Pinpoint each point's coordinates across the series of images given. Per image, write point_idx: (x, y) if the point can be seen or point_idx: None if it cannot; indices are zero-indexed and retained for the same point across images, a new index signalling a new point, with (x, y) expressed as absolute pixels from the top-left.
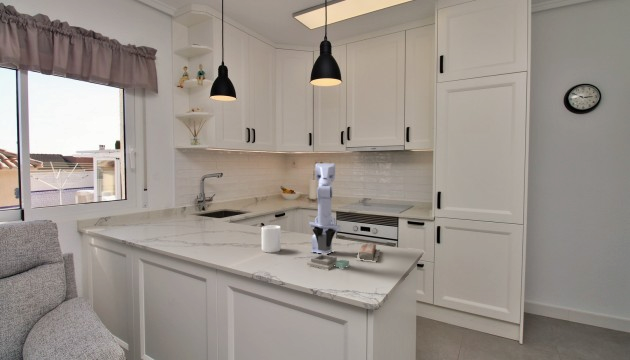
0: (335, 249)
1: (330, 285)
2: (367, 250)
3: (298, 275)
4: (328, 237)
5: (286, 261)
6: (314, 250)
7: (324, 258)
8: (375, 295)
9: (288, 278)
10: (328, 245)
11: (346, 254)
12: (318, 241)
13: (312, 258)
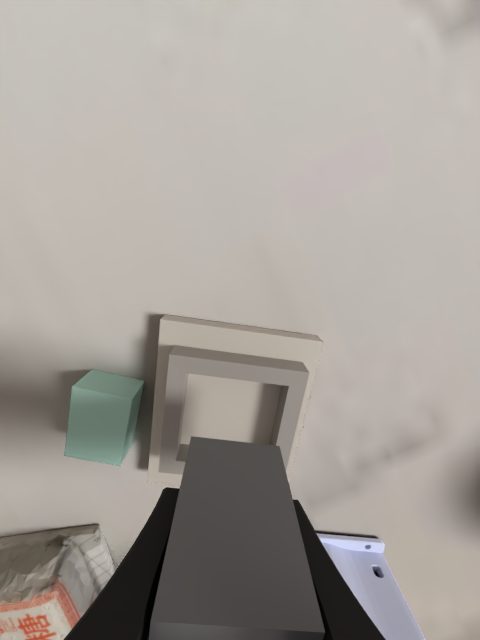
0: None
1: (5, 42)
2: (7, 631)
3: (297, 130)
4: (93, 623)
5: (470, 345)
6: (367, 557)
7: None
8: None
9: (340, 32)
10: (159, 501)
11: None
12: (292, 527)
13: (302, 380)
